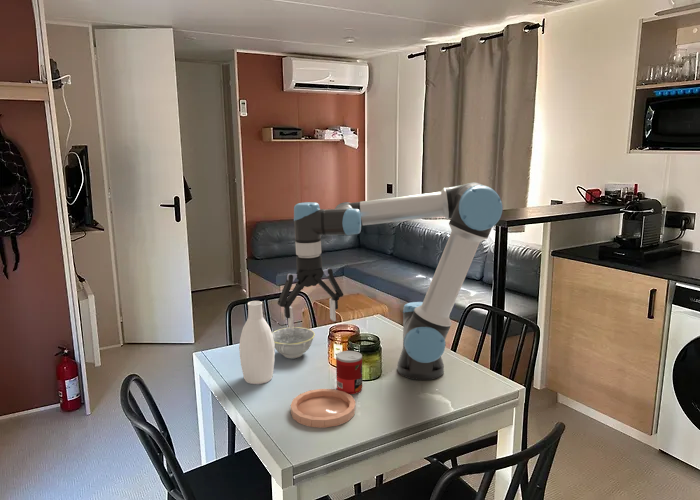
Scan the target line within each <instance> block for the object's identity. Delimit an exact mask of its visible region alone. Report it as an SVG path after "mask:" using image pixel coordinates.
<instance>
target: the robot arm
mask: <svg viewBox="0 0 700 500" xmlns="http://www.w3.org/2000/svg"><path fill="white" fill-rule="evenodd" d="M503 209H504V208H503V202H502V199H501V197H500V196H499V194H498V193H497V191H496V190H494V188H491V187H490V186H488V185H485V184H483V183H480V182H468V183H464V184H460V185H454V186H450V187H443V188H442V189H441V190H440V191H436V192H429V193H421V194H419V193H418V194H411V195H404V196H395V197H388V198H381V199H380V198H379V199H372V200H364V201H356V202H348V201H347V202H342V203H341V202H340V203H339V204H338V205H336V207H335V208H334V209H333V208H332V209H329V208H328V209H325V208H324V209H322V208H320V204H319V203H318V202H315V201H313V202H312V201H311V202H310V201H309V202H308V201H305V202H299V203H296V204H295V205H294V207H293V224H294V225H293V226H294V241H295V255H296V262H295V263H296V273H289V272H287V273H286V278H285V279H286V281H285V283H284V286H283V288H282V290H281V292H280V296H279V298H278V300H277V305H278V306H280V307H281V308H282V307H283V308H284V317H285V318H286V319H287V323H288V325H287V326H288V327H287V328H289V327H290V328H291V329H294V327H295V326H294V313H293V312H294V311H293V306H291V305H292V304H293V303H294V301H295V300H296V298H297V297H298V295H299V294H300V292H301V291H302V290H303V289H304V288H309V287H315V286H317V285H319V286H320V287H321V288H322V289H323V290H324V292H326V293H327V294H328V295H329V296H330V297H331V298H329V302H328V303H329V319H330V321H332V322H336V321H337V317H336V312H337V311H336V310H338V308H339V303H338V302H339V300H340V298H342V297H344V292H343V291H342V289H341V288H340V286H339V284H338V281H337V280H336V278H335V276H334V273H333V269H332V268H330V267H326V268H325V269H323V259H322V258H323V257H322V255H321V254H322V237H321V236H345V235H346V236H351V235H359V234H360V233H361V230H362V226H363V227H364V226H370V225H380V224H388V223H389V224H390V223H396V222H405V221H411V220H412V221H414V220H422V219H431V218H438V217H439V218H440V217H443V218H445V219H446V220H449V222H448V226H449V227H450V230H451V231H450V234H449V237H448V239H447V242H446V244H445V247H444V249H443V251H442V254H441V257H440V259H439V261H438V264H437V267H436V269H435V272H434V274H433V277H432V279H431V282H430V284H429V287H428V289H427V291H426V294H425V296H424V299H423V301H412V302H408V303H405V304H404V305H403V311H402V317H403V318H402V319H403V320H402V321H403V322H402V327H403V328H402V330H403V331H402V333H403V334H402V350H401V353H400V356H399V358H398V361H397V372H398V374H399V375H401V376H403V378H408V379H411V380H414V381H429V380H434V379H438V378H440V377H442V376H443V375H444V372H445V371H444V370H445V369H444V367H445V364H444V361H443V359H442V357H443V356H442V355H443V354H444V352H445V349H446V338H447V335H448V333H449V331H450V329H451V326H452V321H451V318H450V315H451V312H452V310H453V309H454V305H455V303H456V300H457V298H458V296H459V293H460V291H461V288H462V287H463V283H464V282H465V279H466V277H467V274H468V272H469V269H470V267H471V265H472V262H473V260H474V257H475V256H476V252H477V251H478V248H479V245H480V243H481V242H483V241H486V240H487V239H488V238H489V236H490V233H491V231H492V229H493V228H494V227H495V225H497V223H498V222H499V221H500V219H501V217H502V214H503ZM324 275H325V276H326V277H327V279H328V281H329V283H330V284H331V286H332V288H333V290H332V289H331V288H330V287H329V286H328V285H327V284H326V282H325V281H323V279H322V278H323V277H324ZM295 279H296V280H297V281H296V280H295ZM294 281H296V284H295V286H294V287H293V289H292V286H293V284H294ZM291 289H292V290H291ZM290 291H291V292H290ZM334 291H335V292H334Z"/></svg>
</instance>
